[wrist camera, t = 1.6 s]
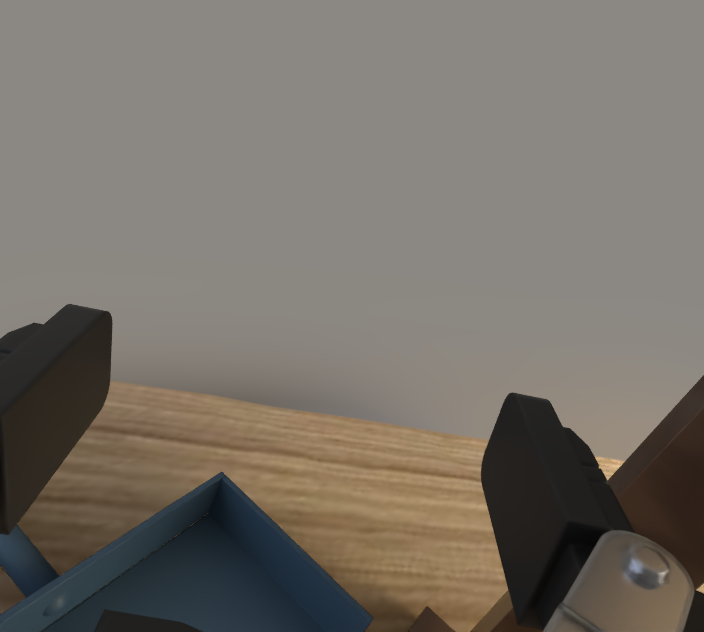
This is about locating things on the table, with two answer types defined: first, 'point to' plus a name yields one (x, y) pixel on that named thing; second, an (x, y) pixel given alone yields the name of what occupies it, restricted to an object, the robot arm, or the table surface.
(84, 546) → the table surface
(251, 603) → the scoop
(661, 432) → the stand
